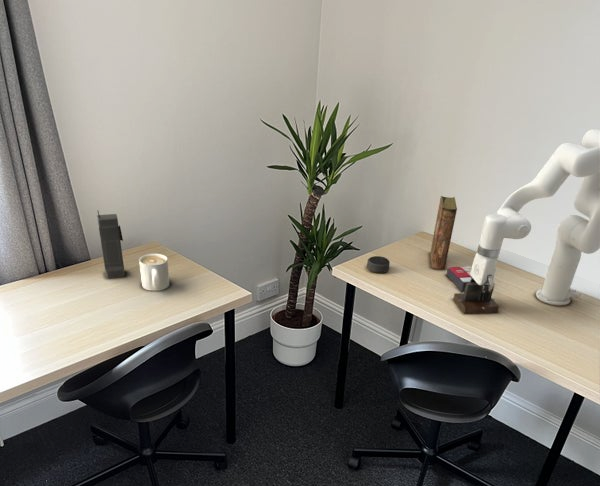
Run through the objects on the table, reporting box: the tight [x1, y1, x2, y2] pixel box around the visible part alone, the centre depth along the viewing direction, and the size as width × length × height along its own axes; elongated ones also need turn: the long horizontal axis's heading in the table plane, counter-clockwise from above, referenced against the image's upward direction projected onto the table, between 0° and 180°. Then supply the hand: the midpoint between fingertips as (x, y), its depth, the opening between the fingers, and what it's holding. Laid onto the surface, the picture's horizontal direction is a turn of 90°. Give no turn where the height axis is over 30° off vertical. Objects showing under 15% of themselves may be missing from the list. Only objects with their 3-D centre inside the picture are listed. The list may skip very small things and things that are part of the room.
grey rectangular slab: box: [463, 282, 496, 301], centre depth 220 cm, size 10×2×7 cm, turn 99°
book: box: [429, 195, 458, 271], centre depth 247 cm, size 16×6×25 cm, turn 172°
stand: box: [452, 292, 500, 315], centre depth 223 cm, size 14×14×3 cm
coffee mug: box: [138, 253, 170, 292], centre depth 221 cm, size 13×10×10 cm
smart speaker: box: [366, 255, 391, 274], centre depth 244 cm, size 9×9×4 cm
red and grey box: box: [446, 265, 472, 292], centre depth 238 cm, size 11×4×15 cm
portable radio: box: [96, 211, 126, 279], centre depth 223 cm, size 8×6×25 cm
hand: (477, 295), depth 221 cm, fingers open, 9 cm apart
